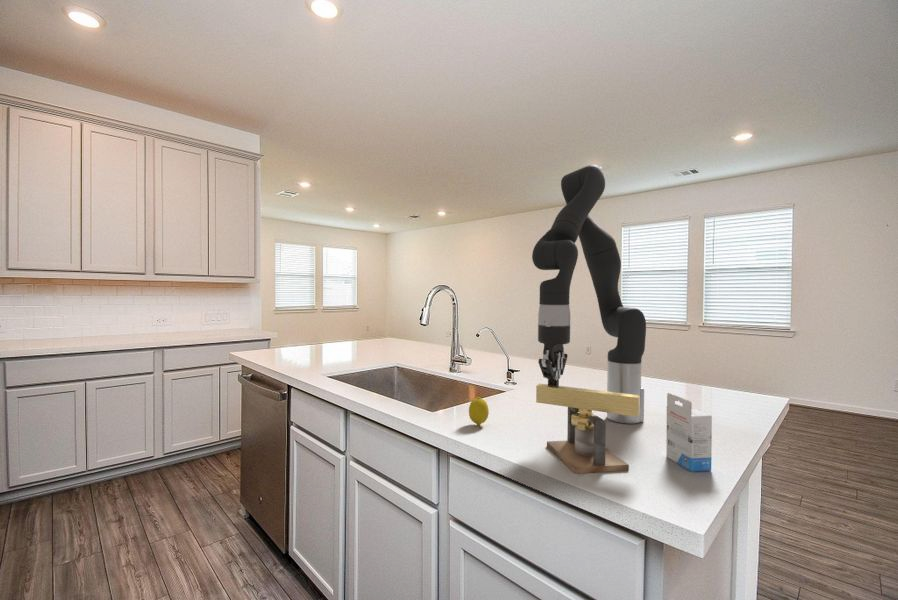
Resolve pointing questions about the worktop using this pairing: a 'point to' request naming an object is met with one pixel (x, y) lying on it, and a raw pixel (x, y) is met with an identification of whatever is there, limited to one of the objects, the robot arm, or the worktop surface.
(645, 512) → the worktop surface
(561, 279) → the robot arm
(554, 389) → the yellow long bar
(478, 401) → the lemon
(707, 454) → the ink box
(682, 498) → the worktop surface
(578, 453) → the base
